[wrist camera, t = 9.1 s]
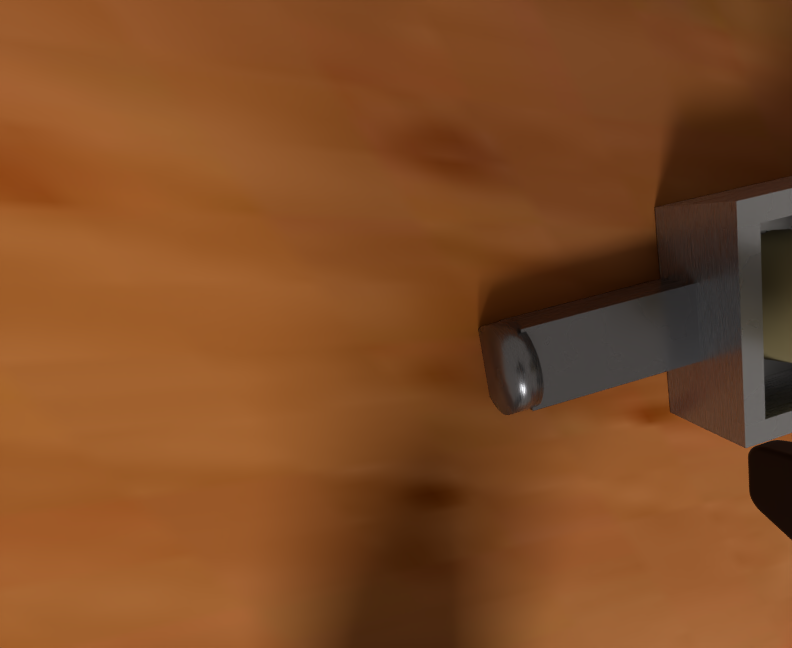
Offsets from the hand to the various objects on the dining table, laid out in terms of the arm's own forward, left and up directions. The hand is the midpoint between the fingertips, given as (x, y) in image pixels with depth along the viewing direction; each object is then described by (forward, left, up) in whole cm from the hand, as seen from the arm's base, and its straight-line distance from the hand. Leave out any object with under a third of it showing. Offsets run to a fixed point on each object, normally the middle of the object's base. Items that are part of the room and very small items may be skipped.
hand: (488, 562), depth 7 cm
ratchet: (-2, -14, -14) cm, 20 cm away
